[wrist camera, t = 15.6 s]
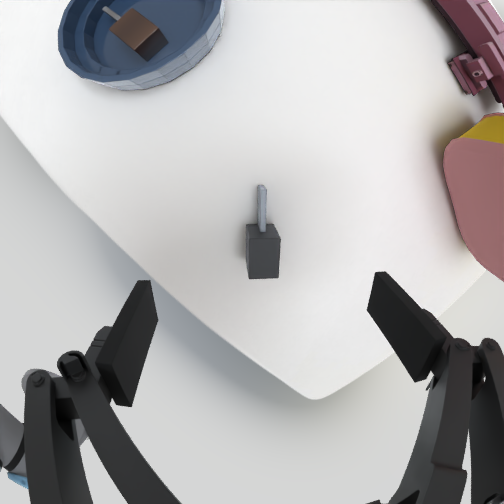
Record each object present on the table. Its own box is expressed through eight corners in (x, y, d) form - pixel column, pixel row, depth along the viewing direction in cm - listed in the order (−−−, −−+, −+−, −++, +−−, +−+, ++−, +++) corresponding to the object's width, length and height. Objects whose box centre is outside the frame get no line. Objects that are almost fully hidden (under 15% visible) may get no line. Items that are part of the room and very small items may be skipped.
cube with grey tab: (272, 259, 30) (278, 278, 26) (246, 260, 30) (248, 279, 26) (275, 185, 27) (282, 193, 23) (246, 185, 27) (249, 193, 23)
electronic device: (407, -41, 15) (437, -71, 6) (512, 106, 22) (558, 105, 12) (362, -33, 17) (389, -73, 8) (484, 134, 24) (538, 136, 14)
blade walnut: (168, 42, 20) (158, 27, 16) (147, 61, 20) (133, 50, 16) (122, 6, 17) (108, -9, 13) (103, 25, 18) (86, 12, 14)
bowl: (117, 120, 23) (93, 117, 18) (67, 28, 17) (42, 15, 12) (252, 40, 21) (257, 18, 16) (183, -45, 15) (176, -70, 10)
